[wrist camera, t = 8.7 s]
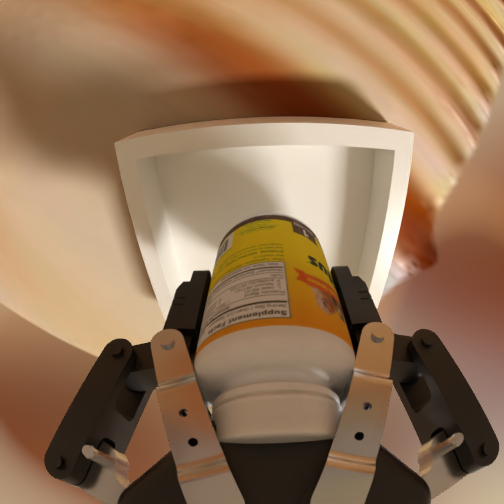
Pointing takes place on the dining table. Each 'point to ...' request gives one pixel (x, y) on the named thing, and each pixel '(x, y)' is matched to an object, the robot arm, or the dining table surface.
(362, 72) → the dining table surface
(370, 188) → the tray
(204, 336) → the supplement bottle
